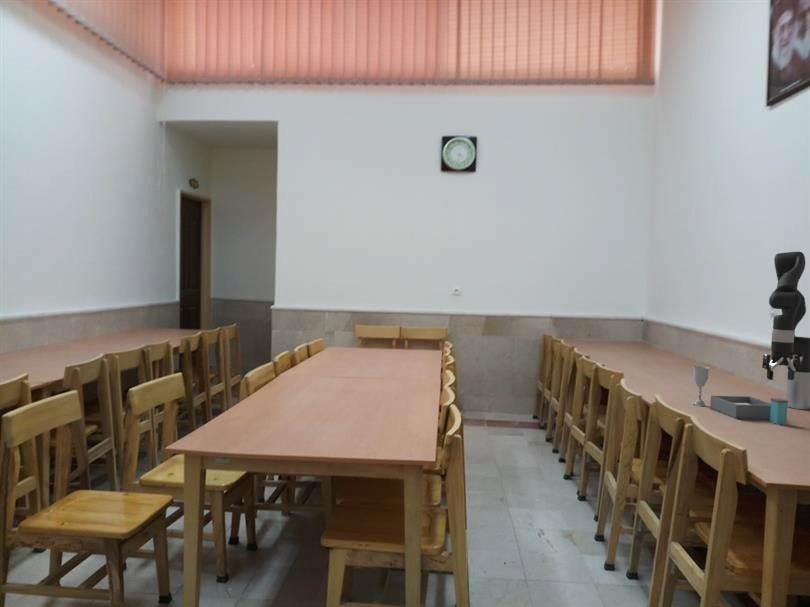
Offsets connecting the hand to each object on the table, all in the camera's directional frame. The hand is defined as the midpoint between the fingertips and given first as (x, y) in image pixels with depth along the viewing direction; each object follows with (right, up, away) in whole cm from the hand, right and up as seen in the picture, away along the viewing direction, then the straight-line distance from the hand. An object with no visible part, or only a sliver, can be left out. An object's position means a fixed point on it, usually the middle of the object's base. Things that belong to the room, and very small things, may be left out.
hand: (780, 379), depth 223 cm
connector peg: (0, -18, +1) cm, 18 cm away
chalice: (-16, -17, +31) cm, 39 cm away
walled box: (-6, -17, +16) cm, 24 cm away
